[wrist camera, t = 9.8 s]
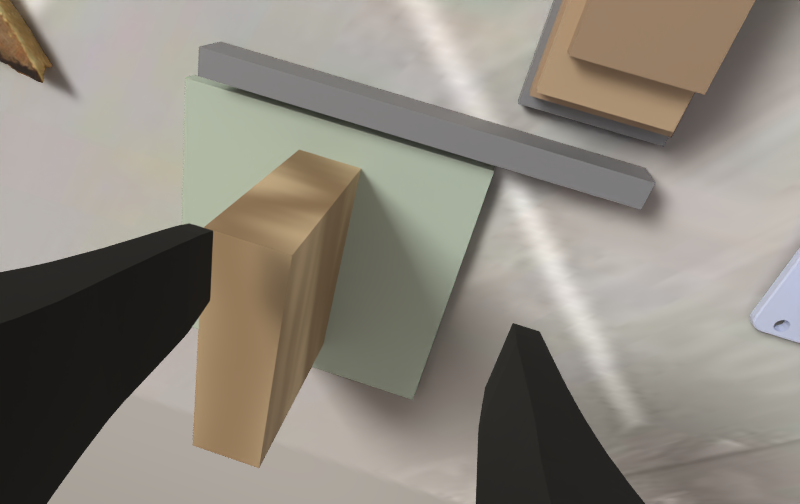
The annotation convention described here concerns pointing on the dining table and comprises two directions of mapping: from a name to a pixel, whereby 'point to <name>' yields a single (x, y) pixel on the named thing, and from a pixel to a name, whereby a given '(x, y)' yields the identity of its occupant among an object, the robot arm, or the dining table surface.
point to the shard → (20, 44)
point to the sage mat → (369, 224)
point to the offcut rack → (540, 89)
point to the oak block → (269, 301)
